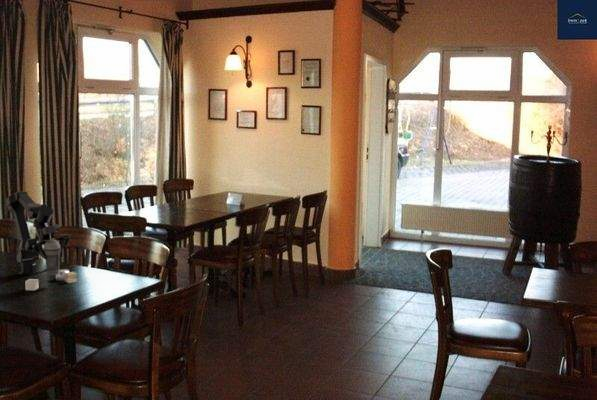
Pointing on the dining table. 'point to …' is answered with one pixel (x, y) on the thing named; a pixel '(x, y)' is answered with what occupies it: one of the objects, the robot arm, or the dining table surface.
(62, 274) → the metal tin
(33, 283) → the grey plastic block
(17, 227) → the robot arm
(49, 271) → the beverage cup
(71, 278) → the birch block
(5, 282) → the dining table surface
